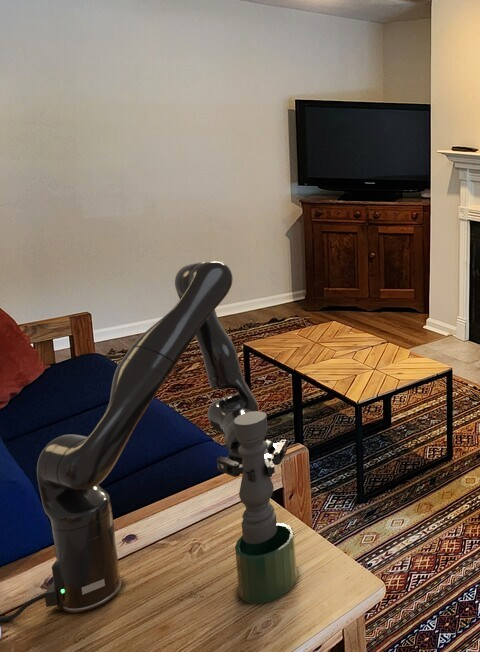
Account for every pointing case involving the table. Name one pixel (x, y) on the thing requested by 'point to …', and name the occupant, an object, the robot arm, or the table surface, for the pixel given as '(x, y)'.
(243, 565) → the pot
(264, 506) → the candle holder
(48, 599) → the robot arm
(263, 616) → the table surface
